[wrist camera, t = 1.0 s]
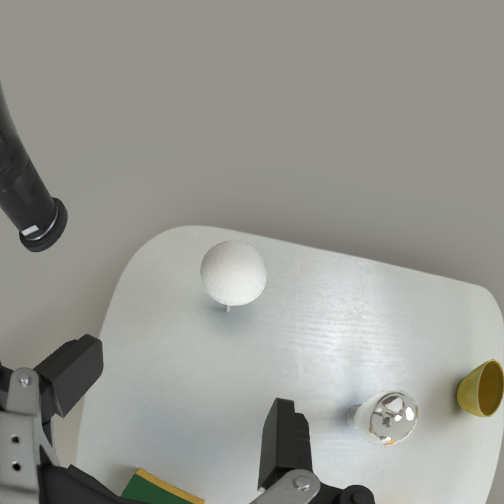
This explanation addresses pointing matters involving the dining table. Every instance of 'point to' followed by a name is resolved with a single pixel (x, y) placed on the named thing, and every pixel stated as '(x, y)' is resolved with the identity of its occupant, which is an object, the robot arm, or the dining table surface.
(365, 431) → the light bulb
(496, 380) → the flower pot
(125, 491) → the sponge
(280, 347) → the dining table surface
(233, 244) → the lollipop
